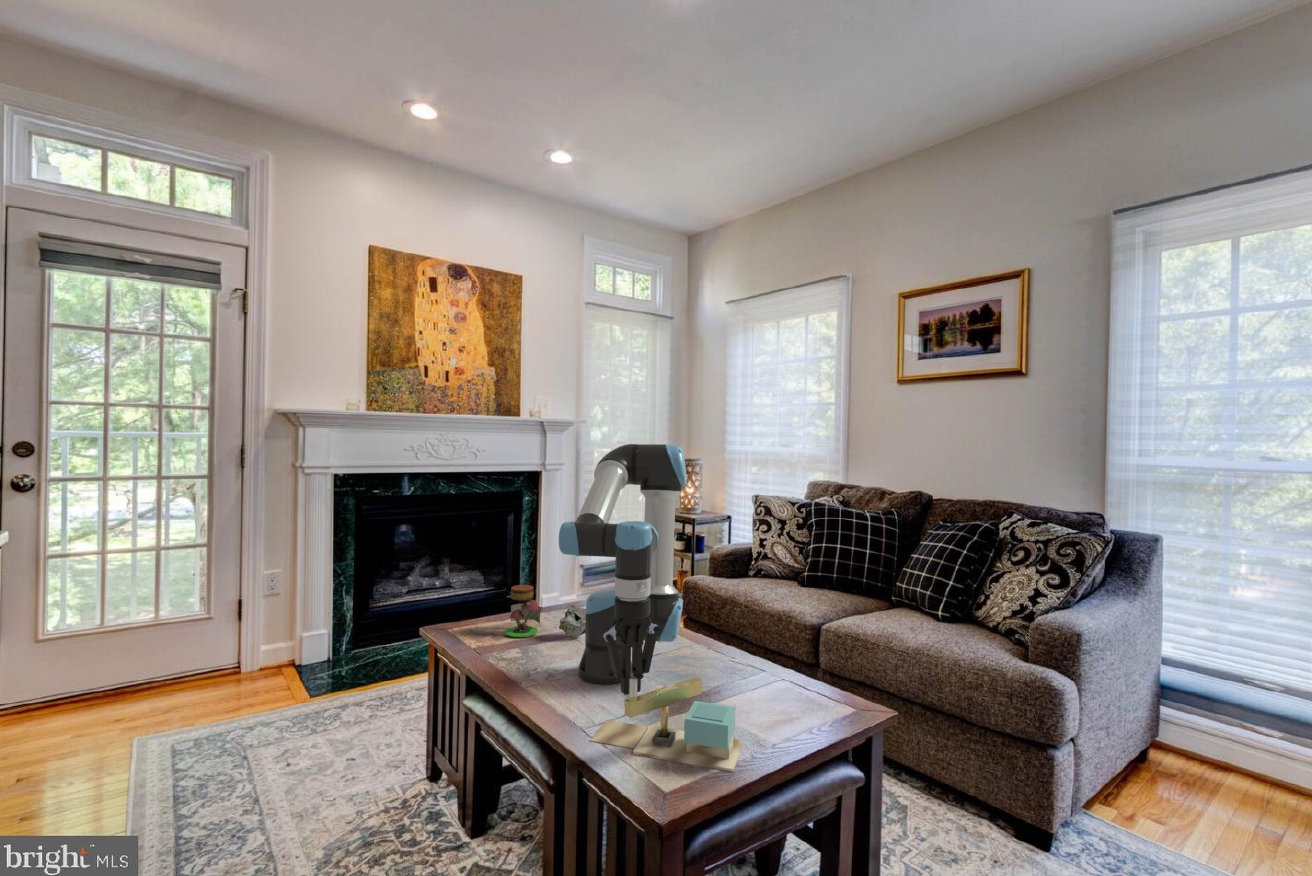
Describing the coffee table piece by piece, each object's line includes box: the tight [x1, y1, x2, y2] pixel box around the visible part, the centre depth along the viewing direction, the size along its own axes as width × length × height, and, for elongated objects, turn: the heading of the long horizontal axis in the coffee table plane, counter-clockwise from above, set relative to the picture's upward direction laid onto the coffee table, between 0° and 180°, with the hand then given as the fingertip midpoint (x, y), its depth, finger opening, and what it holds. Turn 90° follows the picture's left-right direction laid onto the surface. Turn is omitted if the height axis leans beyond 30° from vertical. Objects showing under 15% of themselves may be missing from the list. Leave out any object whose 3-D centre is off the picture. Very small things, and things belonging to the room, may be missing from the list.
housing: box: [632, 724, 743, 772], centre depth 129 cm, size 21×12×4 cm, turn 73°
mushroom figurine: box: [504, 584, 544, 638], centre depth 202 cm, size 12×13×15 cm
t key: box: [624, 676, 703, 738], centre depth 131 cm, size 20×2×11 cm, turn 129°
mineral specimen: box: [558, 604, 586, 639], centre depth 198 cm, size 10×8×10 cm
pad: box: [589, 719, 649, 750], centre depth 135 cm, size 10×10×1 cm
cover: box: [683, 700, 736, 750], centre depth 128 cm, size 9×9×5 cm
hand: (630, 707), depth 128 cm, fingers closed, pressing on t key
